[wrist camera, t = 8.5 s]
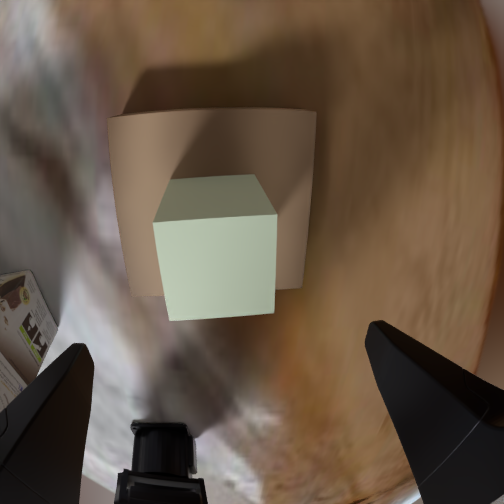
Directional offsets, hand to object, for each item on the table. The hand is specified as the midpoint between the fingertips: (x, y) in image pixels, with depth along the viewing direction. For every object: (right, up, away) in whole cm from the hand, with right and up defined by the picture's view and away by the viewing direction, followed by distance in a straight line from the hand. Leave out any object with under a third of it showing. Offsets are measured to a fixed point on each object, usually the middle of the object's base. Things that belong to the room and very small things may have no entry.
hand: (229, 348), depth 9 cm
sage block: (-1, +5, +8) cm, 10 cm away
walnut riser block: (-2, +7, +11) cm, 13 cm away
